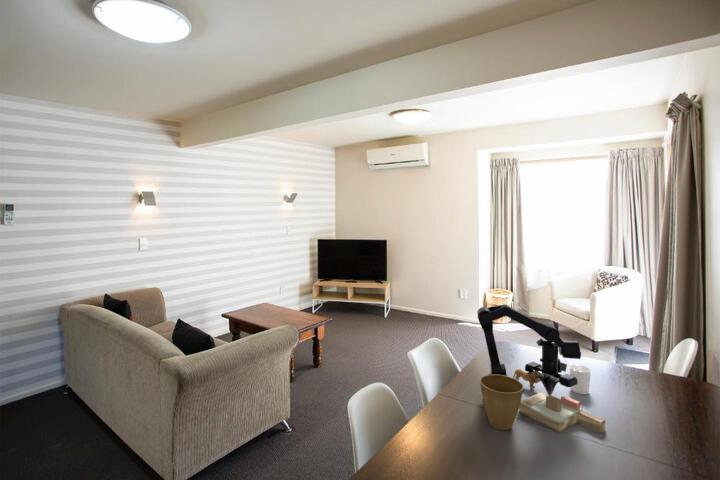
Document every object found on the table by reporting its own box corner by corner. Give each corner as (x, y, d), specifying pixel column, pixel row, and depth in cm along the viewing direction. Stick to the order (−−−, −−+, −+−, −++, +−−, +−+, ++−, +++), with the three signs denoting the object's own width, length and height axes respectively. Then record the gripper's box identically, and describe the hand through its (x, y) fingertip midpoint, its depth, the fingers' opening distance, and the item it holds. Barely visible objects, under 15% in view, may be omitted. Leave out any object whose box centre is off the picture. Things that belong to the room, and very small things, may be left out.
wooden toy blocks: (582, 444, 119) (582, 432, 119) (519, 412, 140) (519, 401, 140) (605, 430, 127) (605, 418, 127) (542, 401, 148) (542, 391, 147)
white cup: (584, 386, 160) (584, 364, 159) (594, 395, 152) (594, 372, 151) (566, 386, 161) (566, 364, 160) (574, 394, 153) (574, 371, 152)
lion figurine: (545, 389, 158) (545, 369, 158) (540, 393, 155) (540, 373, 154) (512, 379, 169) (511, 360, 168) (507, 383, 165) (507, 364, 165)
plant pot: (497, 440, 123) (496, 395, 122) (472, 417, 137) (472, 377, 136) (532, 432, 127) (532, 388, 126) (505, 411, 141) (505, 371, 140)
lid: (558, 424, 126) (559, 409, 126) (529, 410, 136) (529, 396, 136) (582, 412, 134) (582, 397, 133) (553, 399, 143) (553, 386, 143)
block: (576, 409, 133) (576, 403, 132) (560, 402, 138) (560, 396, 138) (580, 408, 134) (580, 402, 134) (564, 401, 139) (564, 395, 139)
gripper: (585, 359, 138) (585, 398, 139) (540, 345, 154) (540, 380, 155) (569, 366, 132) (568, 407, 133) (524, 351, 148) (524, 387, 149)
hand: (549, 394), depth 143 cm, fingers closed
